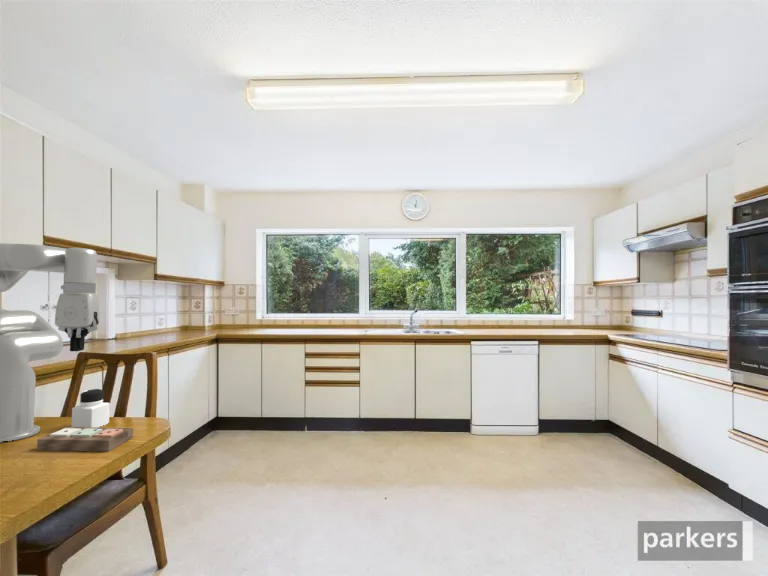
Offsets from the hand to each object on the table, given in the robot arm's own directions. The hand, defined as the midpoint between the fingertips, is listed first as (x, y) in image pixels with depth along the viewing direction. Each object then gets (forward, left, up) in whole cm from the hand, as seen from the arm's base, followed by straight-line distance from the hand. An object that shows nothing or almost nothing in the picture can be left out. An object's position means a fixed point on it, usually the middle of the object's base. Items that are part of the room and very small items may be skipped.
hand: (76, 350), depth 110 cm
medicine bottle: (-5, +13, -27) cm, 31 cm away
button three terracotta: (+11, -1, -26) cm, 28 cm away
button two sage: (+5, -1, -26) cm, 26 cm away
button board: (+5, -1, -27) cm, 28 cm away
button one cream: (-1, -1, -26) cm, 26 cm away
